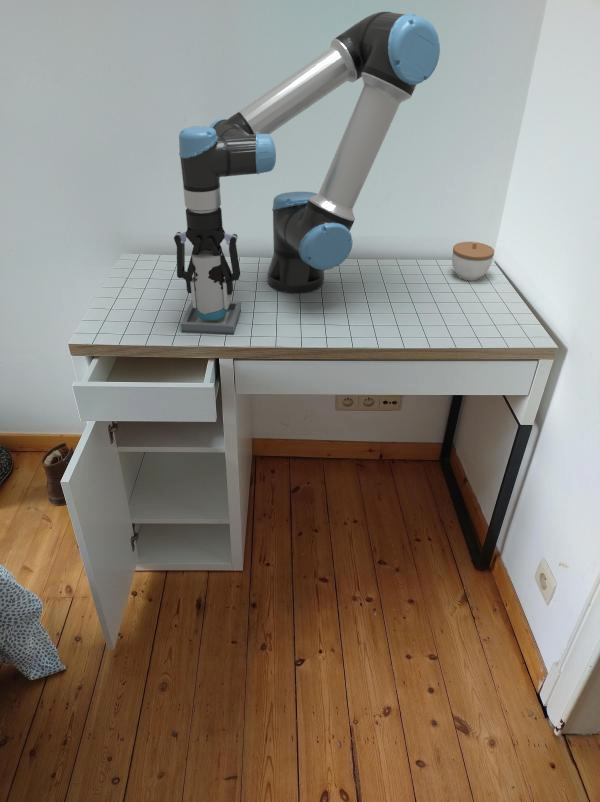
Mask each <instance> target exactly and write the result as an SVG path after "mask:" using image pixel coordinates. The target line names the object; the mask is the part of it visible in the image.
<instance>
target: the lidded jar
mask: <svg viewBox="0 0 600 802" xmlns="http://www.w3.org/2000/svg"><path fill="white" fill-rule="evenodd" d="M494 254H495V249H494V248H493V247H491V246H490V245H488V244H486V243H482V242H477V241H461V242H457V243H455V244H454V245H453V248H452V255H451V256H452V257H451V258H452V259H451V261H452V262H451V263H452V264H451V265H452V268H453V271H454V272H455V273H456V275H457V277H458V278H460V279H462V280H464V281H477V280H480V278H482V277H483V276H484V275H486V274H487V272H488V271H489V269H490V267H491V264H492V263H493V258H494Z"/></svg>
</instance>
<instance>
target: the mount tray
mask: <svg viewBox="0 0 600 802" xmlns="http://www.w3.org/2000/svg"><path fill="white" fill-rule="evenodd" d="M241 313H242V302H241V301H240V302H239V301H230V305H229V307H228V309H226V316H224V317H223V318H221V319H218V320H211V321H210V320H204V319H201V318H199V316H198V312H197V308H193V302H192V300H191V302H190V304H189V306H188V308H187V310H186V312H185V315H184V316H183V318H182V320H181V322H180V328H181V329H180V330H181V333H188V334H189V333H192V334H209V335H229V336H230V335H233V336H234V335H235V331H236V328H237V325H238V323H239V320H240V319H239V318H240V317H241Z"/></svg>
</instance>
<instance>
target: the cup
mask: <svg viewBox="0 0 600 802" xmlns="http://www.w3.org/2000/svg"><path fill="white" fill-rule="evenodd" d="M191 255H192V261H193V271H194V272H193V277H194V281H195V291H196V302H197V312H198V316H199V318H201V319H204V320H210V321H211V320H218V319H221V318H223V317H224V316H226V309H224V294H223V281H224V279H225V278H224V275H223V273H222V271H221V261H220V255H217V256H214V254H213V252H212V251H206V250H205V251H199V253H198V254H197V255H194V254H192V253H191ZM221 256H222V253H221Z"/></svg>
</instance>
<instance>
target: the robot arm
mask: <svg viewBox="0 0 600 802" xmlns="http://www.w3.org/2000/svg"><path fill="white" fill-rule="evenodd" d="M439 40H440V39H439V35H438V32H437V30H436V28H435V26H434V25H433V24H432V22H430V21H429V20H428V19H426V18H423V17H421V16H418V15H415V14H414V13H407V14H405V13H398V12H397V13H396V12H393V11H391V12H390V11H377V12H375V13H373V14H370V15H368V16H367V17H365V18H363V19H361V20H360V21H359V22H356V23H355V24H354V25H352V26H351V27H349V28H347V30H345V31H343V32H342V33H340V34H339V35H338V36H336V37H335V38H333V39H332V40H331V42H330V48H328V49H327V50H326V51H323V53H321V54H319V55H318V56H317V57H315V58H314V59H312V60H311V61H310V62H308V63H307V64H305V65H304V66H302V67H301V68H300V69H298V70H297V71H295V72H294V73H292V74H291V75H290V76H288V77H287V78H285V79H284V80H282V81H281V82H280V83H278V84H277V85H276V86H274V87H272V88H271V89H269V90H268V91H267V92H265V93H264V94H263V95H261V96H259V97H258V98H257V99H255V100H254V101H252V102H251V103H249V104H248V105H247V106H245V107H244V108H242V109H241V110H240V111H238V112H236V113H235V114H233V115H232V116H230V117H229V118H227V119H226V118H224V119H223V118H221V119H216V120H215V121H213V122H212V123H211V124H210V125H209V126H199V125H198V126H197V125H196V126H188V127H185V128H183V129H181V131H180V132H179V135H178V141H179V142H178V143H179V145H178V146H179V153H178V155H179V159H180V168H181V175H182V176H181V177H182V186H183V188H182V189H183V197H184V206H185V207H186V209H185V216H186V217H185V219H186V231H185V232H181V231H177V232H176V233H175V234H174V237H173V240H174V243H175V246H176V277H177V279H184V281H185V282H186V283H185V284H186V292H187V293H188V294H191V301H192V302H193V308H197V302H196V291H195V281H194V271H193V261H192V254H194V255H197V254H198V253H199V251H205V250H206V251H212V252H213V254H214V256H217V255H220V261H221V271H222V273H223V275H224V281H223V294H224V309H228V307H229V305H230V302H231V301H230V296H231V295H232V294H233V292H234V281H239V280H240V277H241V269H240V268H241V267H240V261H239V257H238V256H239V254H238V249H237V241H238V235H237V233H232V234H230V233H226V231H225V229H224V227H223V226H224V225H223V213H222V208H221V205H222V197H221V184H220V181H221V180H220V178H224V177H225V178H226V177H235V176H243V175H247V176H248V175H255V174H256V175H260V174H264V173H269V172H272V171H273V170H274V168H275V166H276V161H277V152H276V145H275V142H274V139H273V137H272V136H271V134H272V133H273V132H275V131H276V130H278V129H280V128H281V127H282V126H284V125H285V124H287V123H288V122H290V121H291V120H292V119H294V118H295V117H297V116H299V115H300V114H301V113H303V112H304V111H306V110H307V109H308V108H310V107H311V106H313V105H315V104H316V103H317V102H319V101H320V100H322V99H323V98H325V97H326V96H328V95H329V94H330V93H332V92H333V91H335V90H336V89H338V88H339V87H341V86H342V85H343V84H345V83H347V82H350V83H354V82H356V81H357V80H359V79H362V82H363V87H362V90H361V92H360V95H359V96H358V98H357V101H356V104H355V106H354V109H353V111H352V113H351V116H350V118H349V119H348V120H349V121H348V122H347V125H346V128H345V130H344V132H343V134H342V137H341V140H340V142H339V144H338V146H337V149H336V152H335V153H334V156H333V158H332V160H331V163H330V166H329V167H328V170H327V173H326V175H325V177H324V180H323V182H322V184H321V187H320V188H319V191H318V193H316V192H313V191H289V192H284V193H283V192H282V193H280V194H277V195H275V196H274V198H273V200H272V201H273V203H272V229H273V232H272V233H273V236H272V237H273V255H272V257H271V261H270V263H269V267H268V270H267V273H266V274H267V284H268V285H269V286H270V287H271V288H273V289H274V290H277V291H280V292H283V293H291V294H301V293H308V292H313V291H316V290H318V289H320V288H321V287H322V286H323V285H324V284H325V272H324V271H326V270H327V271H328V270H331V269H333V268H335V267H338V266H340V265H341V264H343V262H345V260H346V259H347V258H348V257H349V255H351V254H350V253H351V251H352V248H353V241H354V240H353V239H352V238H353V237H352V233H351V229H352V228H353V225H354V222H355V220H356V218H355V215H354V212H353V209H354V207H355V204H356V203H357V200H358V199H359V196H360V193H361V192H362V189H363V187H364V185H365V182H366V180H367V178H368V176H369V174H370V171H371V169H372V167H373V164H374V162H375V160H376V158H377V156H378V153H379V151H380V149H381V146H382V145H383V143H384V140H385V138H386V136H387V134H388V131H389V130H390V127H391V124H392V123H393V120H394V118H395V116H396V115H397V112H398V110H399V107H400V105H401V104H402V103H404V102H405V101H407V100H409V99H411V97H412V95H413V94H414V91H415V90H416V87H417V85H419V84H422V83H423V82H424V81H426V80H428V79H429V78H430V77H431V76H432V75H433V74H434V71H435V70H436V68H437V66H438V62H439V59H440V55H441V44H440V41H439ZM187 240H188V241H189V242H190V243H191V245H192V246H193V247H192V251H191V256H190V259H189V262H188V263H189V264H188V267H187V270H185V269H186V265H185V263H186V261H185V260H186V258H185V257H186V256H185V255H186V252H185V248H186V247H185V245H186V244H185V243H186V241H187ZM224 240H225V241H226V242H225V244H226V245H227V246H228V253H229V258H230V265H231V267H230V266H229V263H228V260H227V258H226V256H225V254H224V252H223V248H222V245H221V243H222V242H223V241H224ZM221 253H222V256H221ZM230 268H231V269H232V270H231V269H230Z"/></svg>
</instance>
